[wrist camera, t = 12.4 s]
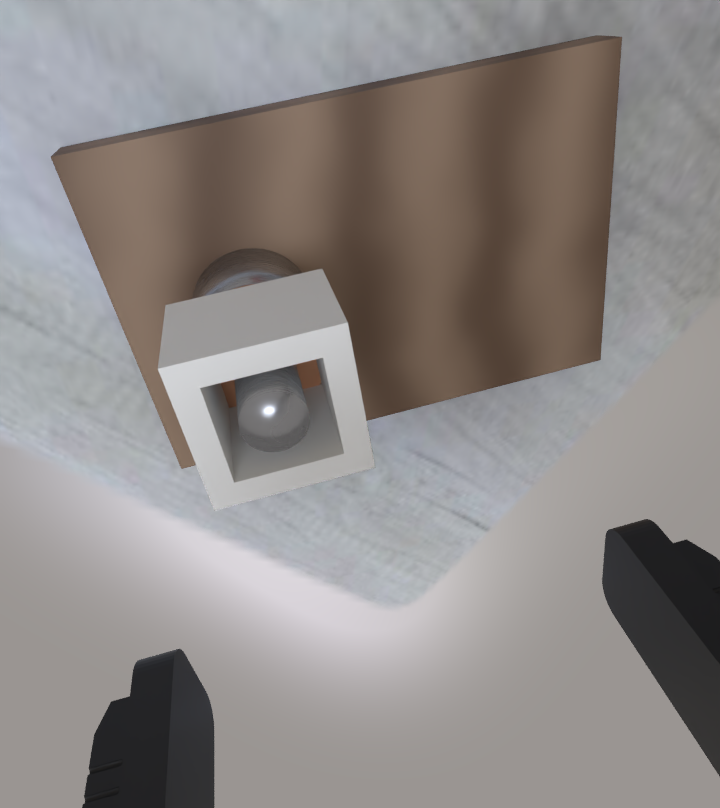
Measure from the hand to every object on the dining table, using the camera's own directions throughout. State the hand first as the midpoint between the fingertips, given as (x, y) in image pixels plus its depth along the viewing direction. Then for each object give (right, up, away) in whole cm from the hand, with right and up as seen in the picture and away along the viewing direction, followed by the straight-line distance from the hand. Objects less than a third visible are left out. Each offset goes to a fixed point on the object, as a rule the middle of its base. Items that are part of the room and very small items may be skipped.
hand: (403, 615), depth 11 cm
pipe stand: (0, +11, +20) cm, 23 cm away
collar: (-5, +6, +14) cm, 15 cm away
